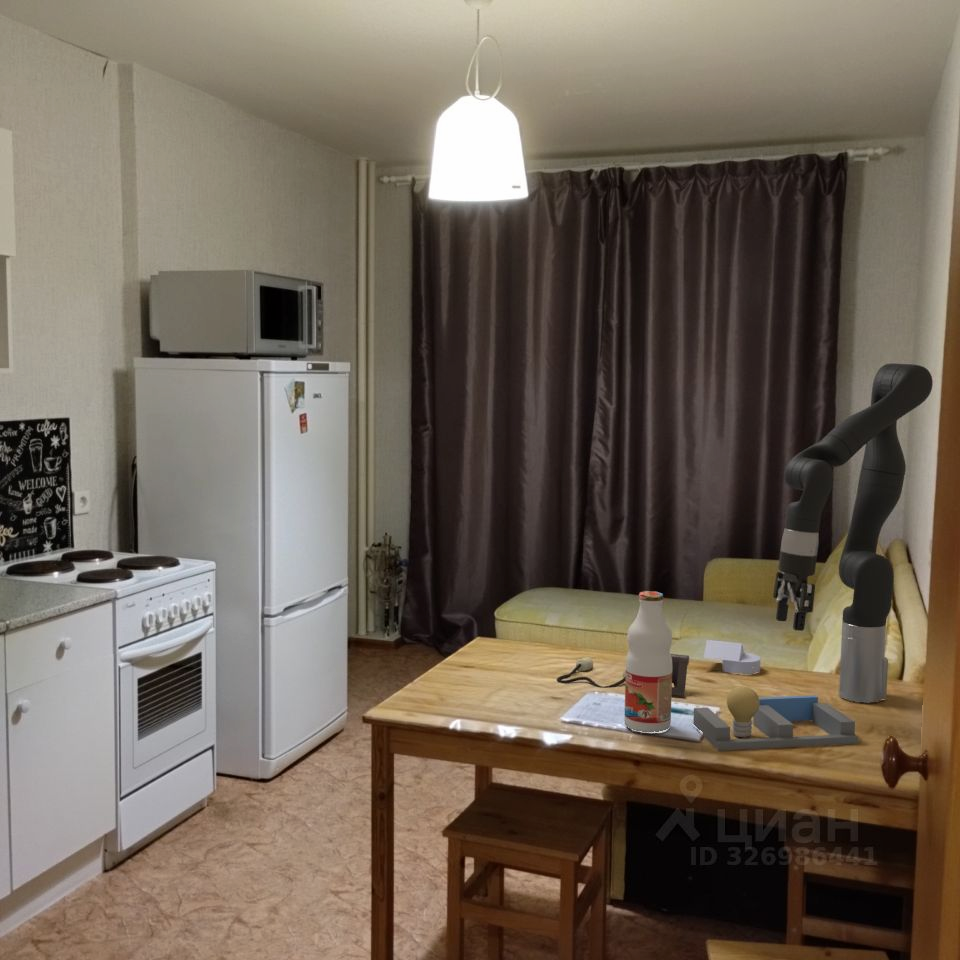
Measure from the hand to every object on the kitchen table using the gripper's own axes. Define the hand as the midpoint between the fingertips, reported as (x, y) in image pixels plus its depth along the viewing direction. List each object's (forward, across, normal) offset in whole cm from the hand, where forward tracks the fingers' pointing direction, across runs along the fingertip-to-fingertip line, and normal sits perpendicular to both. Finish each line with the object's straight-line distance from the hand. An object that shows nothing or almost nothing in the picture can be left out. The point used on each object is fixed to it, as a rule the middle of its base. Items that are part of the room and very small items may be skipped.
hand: (789, 625), depth 226 cm
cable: (+22, +26, +33) cm, 48 cm away
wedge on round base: (+19, +31, -2) cm, 36 cm away
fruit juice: (+22, -8, +32) cm, 39 cm away
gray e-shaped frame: (+19, -14, +8) cm, 25 cm away
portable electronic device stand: (+21, +16, +20) cm, 33 cm away
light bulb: (+20, -14, +14) cm, 29 cm away
